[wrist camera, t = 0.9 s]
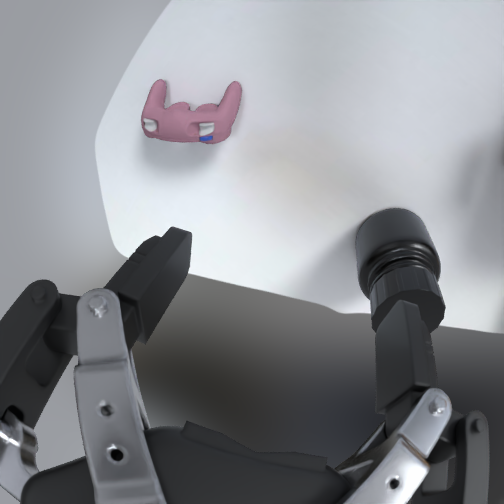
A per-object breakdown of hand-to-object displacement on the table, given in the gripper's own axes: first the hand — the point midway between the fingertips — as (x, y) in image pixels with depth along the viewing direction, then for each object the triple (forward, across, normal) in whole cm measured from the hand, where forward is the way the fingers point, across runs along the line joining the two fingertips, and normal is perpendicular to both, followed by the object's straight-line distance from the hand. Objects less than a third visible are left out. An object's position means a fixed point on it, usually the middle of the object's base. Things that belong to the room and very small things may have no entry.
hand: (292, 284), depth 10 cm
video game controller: (+21, +13, -1) cm, 25 cm away
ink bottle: (+21, -12, +8) cm, 25 cm away
